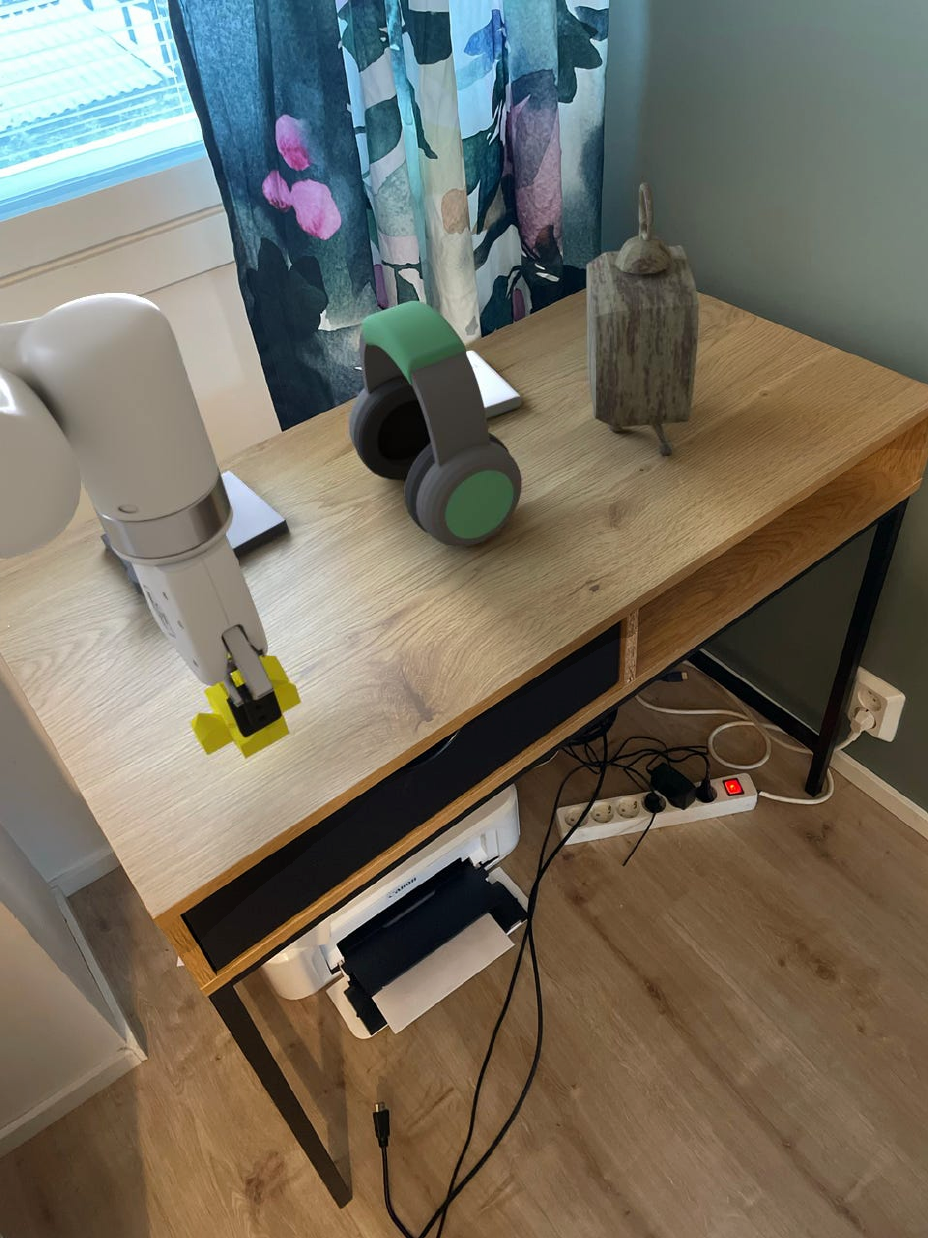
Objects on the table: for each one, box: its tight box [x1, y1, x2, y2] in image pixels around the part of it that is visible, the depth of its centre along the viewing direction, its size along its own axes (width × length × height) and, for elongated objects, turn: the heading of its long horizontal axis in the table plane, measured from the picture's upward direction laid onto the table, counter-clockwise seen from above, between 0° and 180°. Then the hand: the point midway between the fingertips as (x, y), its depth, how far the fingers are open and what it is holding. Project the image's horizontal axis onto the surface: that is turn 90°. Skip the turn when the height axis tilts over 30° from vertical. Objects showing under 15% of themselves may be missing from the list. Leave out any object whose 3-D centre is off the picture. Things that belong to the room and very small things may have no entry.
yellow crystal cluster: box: [189, 652, 302, 760], centre depth 66 cm, size 6×8×8 cm
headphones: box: [348, 300, 523, 547], centre depth 84 cm, size 19×11×20 cm, turn 29°
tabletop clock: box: [585, 181, 699, 457], centre depth 87 cm, size 14×9×25 cm, turn 179°
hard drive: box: [466, 350, 523, 420], centre depth 104 cm, size 2×8×12 cm
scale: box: [100, 470, 290, 596], centre depth 89 cm, size 16×13×3 cm
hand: (240, 697), depth 67 cm, fingers closed on yellow crystal cluster, 5 cm apart
